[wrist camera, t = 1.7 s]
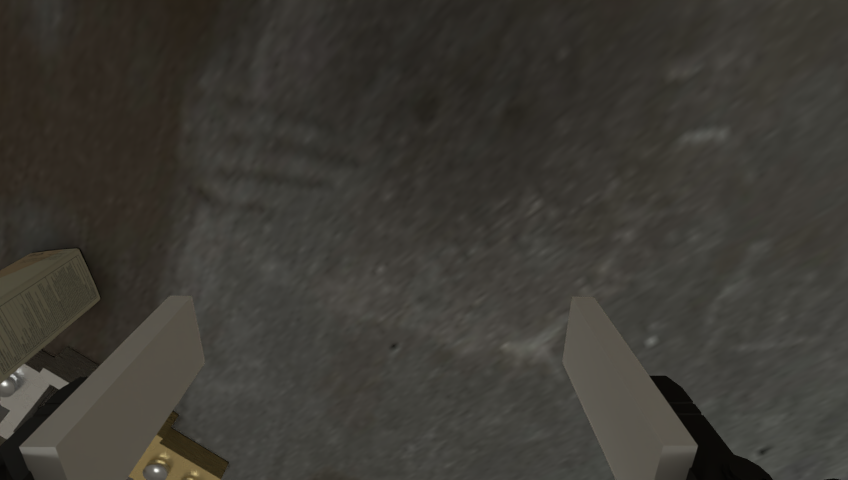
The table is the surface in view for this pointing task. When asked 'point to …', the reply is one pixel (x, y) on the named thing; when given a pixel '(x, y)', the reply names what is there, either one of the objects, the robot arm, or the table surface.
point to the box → (40, 303)
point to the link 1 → (38, 384)
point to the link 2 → (177, 458)
